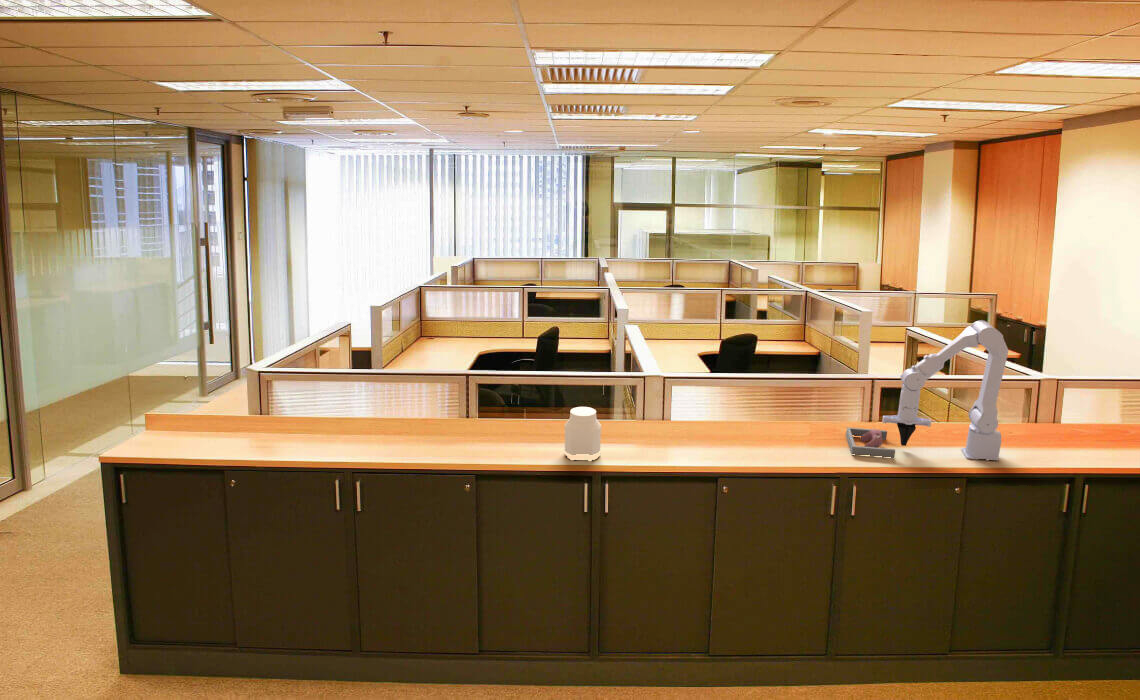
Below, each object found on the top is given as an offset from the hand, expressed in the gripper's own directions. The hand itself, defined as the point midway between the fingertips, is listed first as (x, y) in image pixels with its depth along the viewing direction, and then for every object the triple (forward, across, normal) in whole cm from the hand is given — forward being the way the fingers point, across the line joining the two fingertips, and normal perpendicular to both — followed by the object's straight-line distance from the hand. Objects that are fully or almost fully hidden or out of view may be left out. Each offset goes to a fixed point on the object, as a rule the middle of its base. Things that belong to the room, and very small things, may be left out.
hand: (903, 444), depth 267 cm
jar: (+2, -102, -28) cm, 106 cm away
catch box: (+2, -10, 0) cm, 11 cm away
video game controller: (+2, -10, 0) cm, 10 cm away
